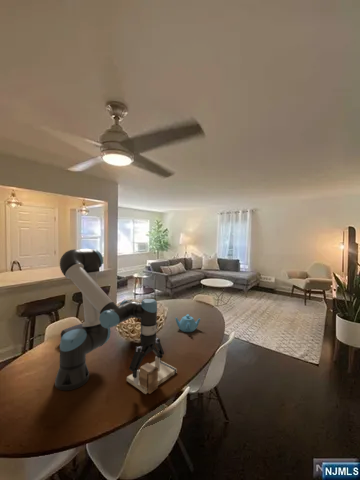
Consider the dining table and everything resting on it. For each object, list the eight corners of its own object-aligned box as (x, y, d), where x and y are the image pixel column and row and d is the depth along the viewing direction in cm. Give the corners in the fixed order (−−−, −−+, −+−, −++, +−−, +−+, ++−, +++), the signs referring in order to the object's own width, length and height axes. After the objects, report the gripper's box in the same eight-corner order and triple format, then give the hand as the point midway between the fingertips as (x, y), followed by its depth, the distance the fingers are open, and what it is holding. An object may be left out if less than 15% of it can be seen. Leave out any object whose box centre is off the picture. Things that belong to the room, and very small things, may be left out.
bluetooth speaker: (67, 347, 143) (67, 331, 143) (60, 342, 149) (60, 327, 148) (98, 335, 161) (99, 321, 161) (91, 331, 167) (91, 318, 167)
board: (145, 394, 103) (145, 389, 103) (126, 380, 112) (126, 376, 112) (176, 372, 120) (176, 368, 120) (158, 362, 129) (158, 359, 129)
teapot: (201, 329, 176) (201, 316, 176) (188, 335, 166) (188, 320, 166) (187, 323, 187) (187, 311, 187) (174, 328, 177) (174, 315, 177)
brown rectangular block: (149, 393, 103) (150, 373, 102) (133, 382, 110) (133, 363, 110) (157, 388, 106) (158, 368, 106) (141, 377, 114) (141, 359, 114)
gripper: (132, 344, 95) (131, 393, 95) (171, 327, 114) (170, 368, 115) (121, 338, 100) (120, 385, 100) (161, 323, 119) (159, 362, 119)
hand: (147, 376), depth 107 cm, fingers open, 13 cm apart
